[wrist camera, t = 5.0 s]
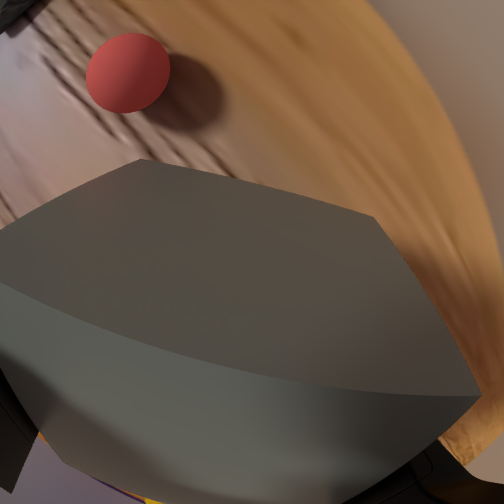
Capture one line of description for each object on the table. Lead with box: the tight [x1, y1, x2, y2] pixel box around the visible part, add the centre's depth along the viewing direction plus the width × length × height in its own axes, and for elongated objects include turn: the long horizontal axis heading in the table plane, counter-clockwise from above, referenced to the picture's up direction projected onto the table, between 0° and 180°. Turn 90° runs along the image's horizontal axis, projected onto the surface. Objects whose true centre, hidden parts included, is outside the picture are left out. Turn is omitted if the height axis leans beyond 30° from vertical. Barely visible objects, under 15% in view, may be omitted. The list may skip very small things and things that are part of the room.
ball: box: [86, 33, 170, 113], centre depth 14 cm, size 5×5×5 cm
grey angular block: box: [0, 159, 482, 504], centre depth 7 cm, size 8×8×7 cm
